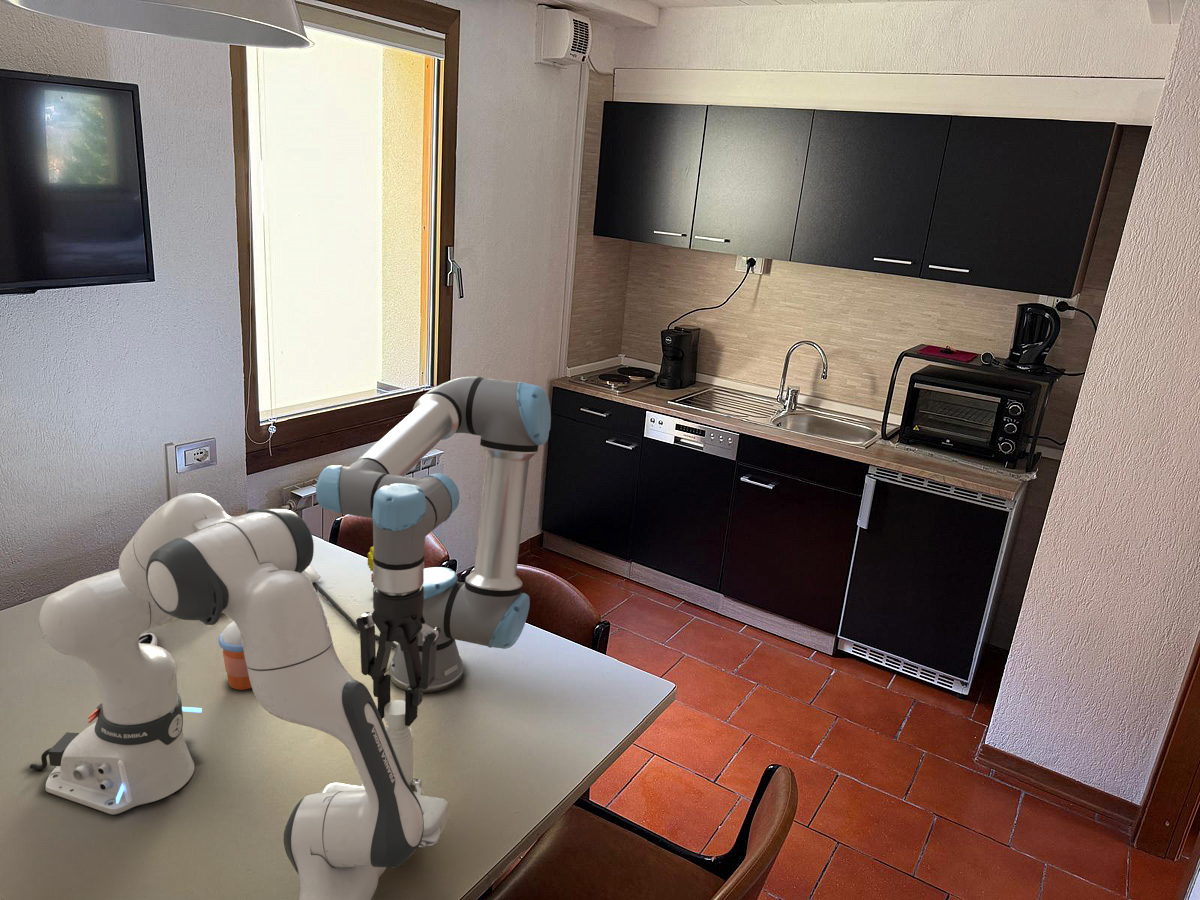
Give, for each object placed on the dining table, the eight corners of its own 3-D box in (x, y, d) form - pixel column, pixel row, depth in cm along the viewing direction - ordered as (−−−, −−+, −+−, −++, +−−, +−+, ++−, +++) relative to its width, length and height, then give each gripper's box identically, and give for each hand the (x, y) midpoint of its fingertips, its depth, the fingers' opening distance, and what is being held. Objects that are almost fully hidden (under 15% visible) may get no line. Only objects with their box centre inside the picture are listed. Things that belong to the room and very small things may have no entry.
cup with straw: (252, 697, 169) (248, 616, 164) (211, 689, 171) (206, 608, 166) (278, 673, 178) (275, 596, 172) (238, 666, 179) (234, 588, 174)
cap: (378, 717, 136) (378, 707, 135) (398, 706, 139) (398, 696, 139) (396, 728, 134) (396, 718, 133) (416, 716, 137) (416, 706, 136)
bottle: (406, 800, 145) (407, 698, 139) (416, 819, 141) (418, 714, 135) (377, 809, 143) (377, 705, 137) (386, 829, 139) (387, 722, 133)
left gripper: (435, 832, 126) (460, 772, 139) (302, 812, 128) (339, 754, 141) (434, 867, 128) (459, 804, 141) (303, 846, 130) (340, 786, 143)
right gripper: (461, 585, 131) (457, 716, 138) (361, 565, 135) (362, 693, 142) (439, 607, 124) (436, 744, 131) (334, 584, 128) (336, 718, 135)
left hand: (398, 779), depth 141 cm, fingers closed on bottle, 5 cm apart
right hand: (397, 717), depth 136 cm, fingers closed on cap, 4 cm apart
